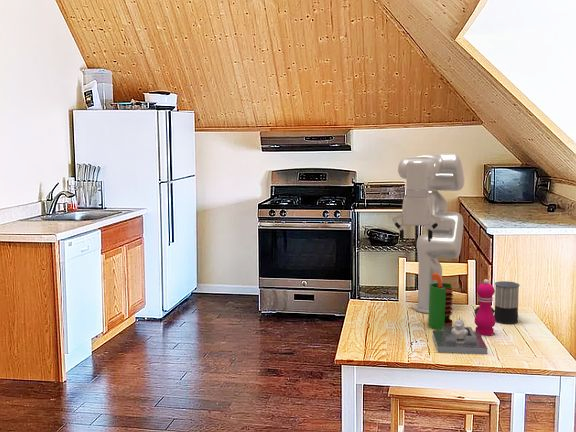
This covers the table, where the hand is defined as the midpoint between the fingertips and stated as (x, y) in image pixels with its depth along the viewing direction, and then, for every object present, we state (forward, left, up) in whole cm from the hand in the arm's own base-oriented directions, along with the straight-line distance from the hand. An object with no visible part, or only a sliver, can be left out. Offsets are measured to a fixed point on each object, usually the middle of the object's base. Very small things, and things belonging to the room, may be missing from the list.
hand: (415, 240), depth 231 cm
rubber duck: (+16, +14, -31) cm, 38 cm away
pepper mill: (+2, +25, -34) cm, 42 cm away
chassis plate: (+16, +14, -33) cm, 40 cm away
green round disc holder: (-5, +10, -34) cm, 35 cm away
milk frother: (-17, +33, -34) cm, 50 cm away
